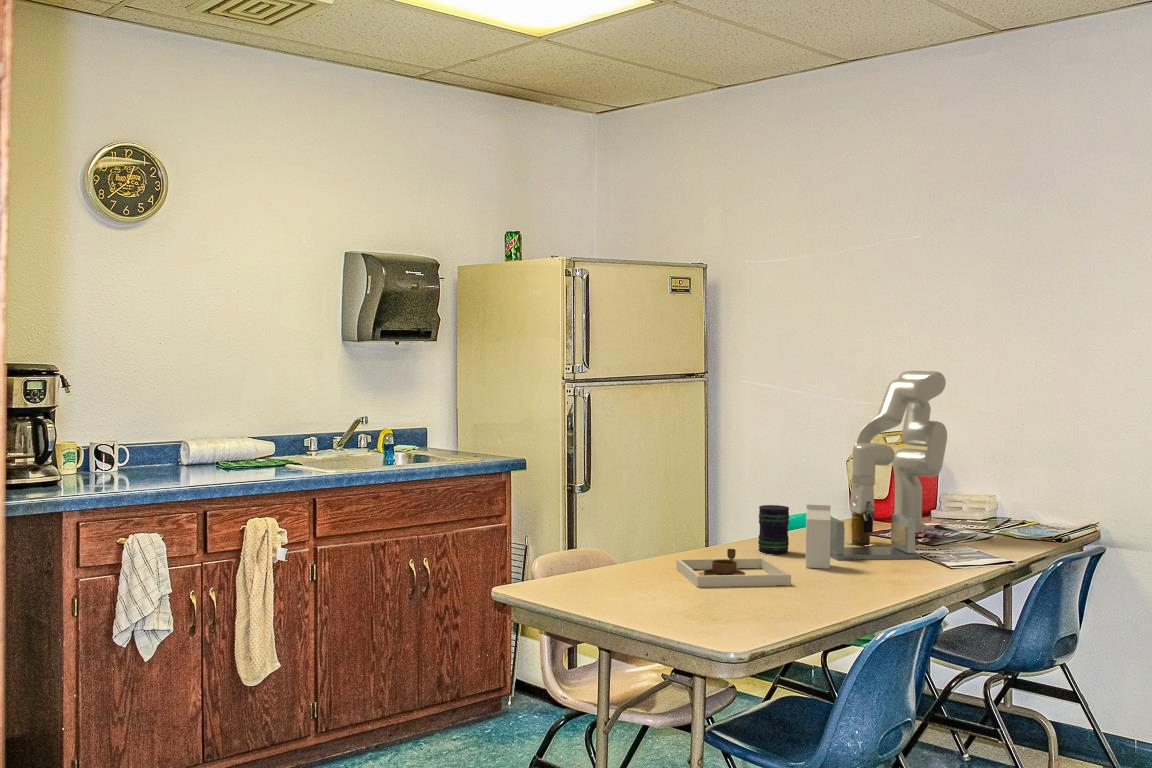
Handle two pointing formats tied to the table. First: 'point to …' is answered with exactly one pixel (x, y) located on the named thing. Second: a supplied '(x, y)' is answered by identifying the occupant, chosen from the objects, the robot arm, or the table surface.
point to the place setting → (724, 566)
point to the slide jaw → (903, 533)
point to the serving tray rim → (771, 579)
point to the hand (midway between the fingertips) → (861, 530)
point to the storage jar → (773, 529)
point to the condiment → (859, 531)
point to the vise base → (860, 552)
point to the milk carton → (818, 536)
